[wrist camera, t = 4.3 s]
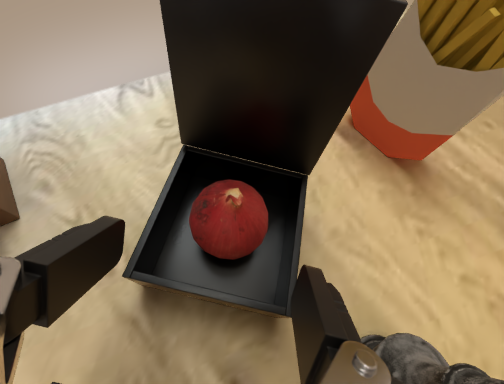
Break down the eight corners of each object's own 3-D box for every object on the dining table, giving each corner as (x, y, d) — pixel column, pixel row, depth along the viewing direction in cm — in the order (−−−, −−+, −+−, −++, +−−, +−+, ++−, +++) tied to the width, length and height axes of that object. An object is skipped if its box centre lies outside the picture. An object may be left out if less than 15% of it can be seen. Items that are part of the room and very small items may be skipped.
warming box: (277, 317, 18) (293, 317, 14) (142, 285, 18) (121, 276, 14) (293, 198, 24) (308, 175, 20) (189, 172, 24) (183, 144, 20)
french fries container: (403, 174, 27) (655, -21, 12) (337, 115, 31) (462, -97, 15) (423, 157, 29) (665, -32, 13) (358, 104, 32) (490, -98, 17)
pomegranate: (188, 264, 19) (170, 234, 12) (200, 201, 22) (191, 147, 15) (258, 271, 19) (280, 245, 12) (261, 208, 22) (281, 159, 15)
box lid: (409, 3, 10) (405, -3, 10) (149, -64, 9) (156, -67, 10) (309, 175, 19) (309, 169, 20) (181, 143, 19) (184, 138, 20)
